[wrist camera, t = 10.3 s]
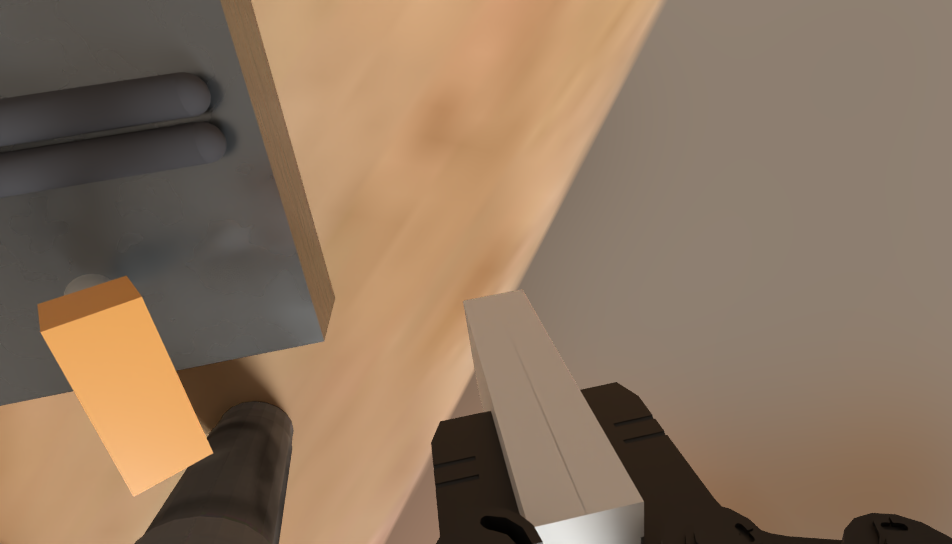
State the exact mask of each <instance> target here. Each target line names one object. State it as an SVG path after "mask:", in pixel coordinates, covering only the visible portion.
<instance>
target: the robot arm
mask: <svg viewBox="0 0 952 544" xmlns="http://www.w3.org/2000/svg"><path fill="white" fill-rule="evenodd" d="M463 303H464V309H465V315H466V321H467V327H468V333H469V339H470V345H471V351H472V357H473V363H474V369H475V374H476V381H477V386H478V392H479V396H480V399H481V403H482V408H483V411H484V412H483V413H478V414H473V415H469V416H464V417H459V418H455V419H450V420H445V421H441V422H440V423H439V426H438V428H437V430H436V433H435V435H434V437H433V440H432V442H431V445H432V456H433V465H434V476H435V485H436V498H437V508H438V519H439V530H440V538H439V540H438V541H437V543H436V544H952V538H950V537H949V536H947V535H945V534H943V533H941V532H939V531H937V530H935V529H933V528H931V527H930V526H928V525H926V524H924V523H922V522H918V521H915V520H912V519H908V518H905V517H902V516H899V515H895V514H879V513H870V514H867V515H864V516H860V517H857V518H854V519H853V520H852V521H851V523H850V524H849V525H848V526H847V527H846V528H845V530H844V534H843V538H842V540H831V539H817V538H802V537H789V536H783V535H777V534H771V533H768V532H765V531H762V530H760V529H759V528H758V527H757V526H756V525H755V524H754V523H753V522H752V521H751V520H749V519H748V518H746V517H744V516H742V515H740V514H739V513H737V512H735V511H733V510H731V509H729V508H725V507H722V506H721V505H720V504H719V503H718V502H717V501H716V500H715V499H714V498H713V496H712V495H711V494H710V492H709V491H708V490H707V488H706V487H705V485H704V484H703V483H702V481H701V480H700V479H699V477H698V476H697V475H696V473H695V472H694V471H693V469H692V468H691V467H690V465H689V464H688V463H687V461H686V460H685V459H684V457H683V456H682V454H681V453H680V452H679V450H678V449H677V448H676V446H675V445H674V444H673V442H672V441H671V440H670V438H669V437H668V435H665V433H664V430H663V429H662V428H661V426H660V425H659V423H658V422H657V421H656V419H653V417H652V414H651V413H650V411H649V410H648V408H647V407H646V406H645V404H644V403H643V402H642V400H641V399H640V398H639V396H637V395H636V394H634V393H633V392H631V391H630V390H628V389H626V388H625V387H623V386H622V385H620V384H618V383H617V382H615V383H610V384H606V385H601V386H597V387H592V388H587V389H583V390H580V389H579V388H578V386H577V384H576V382H575V380H574V379H573V377H572V375H571V373H570V372H569V370H568V368H567V366H566V365H565V363H564V361H563V359H562V358H561V356H560V354H559V352H558V351H557V349H556V347H555V346H554V344H553V342H552V340H551V339H550V337H549V335H548V333H547V332H546V330H545V328H544V326H543V325H542V323H541V321H540V319H539V318H538V316H537V314H536V312H535V311H534V309H533V307H532V305H531V304H530V302H529V300H528V298H527V297H526V295H525V293H524V291H523V290H517V291H511V292H506V293H501V294H496V295H491V296H486V297H481V298H475V299H470V300H465V301H463Z"/></svg>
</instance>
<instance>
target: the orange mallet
mask: <svg viewBox="0 0 952 544" xmlns="http://www.w3.org/2000/svg"><path fill="white" fill-rule="evenodd" d="M37 306H38V315H39V324H40V332H41V334H42V336H43V338H44V340H45V341H46V343H47V345H48V347H49V348H50V350H51V352H52V354H53V355H54V357H55V359H56V361H57V362H58V364H59V366H60V368H61V370H62V371H63V373H64V375H65V377H66V378H67V380H68V382H69V384H70V385H71V387H72V389H73V391H74V392H75V394H76V396H77V398H78V399H79V401H80V403H81V405H82V407H83V408H84V410H85V412H86V414H87V415H88V417H89V419H90V421H91V422H92V424H93V426H94V428H95V429H96V431H97V433H98V435H99V437H100V438H101V440H102V442H103V444H104V445H105V447H106V449H107V451H108V452H109V454H110V456H111V458H112V459H113V461H114V463H115V465H116V467H117V468H118V470H119V472H120V474H121V475H122V477H123V479H124V481H125V482H126V484H127V486H128V488H129V489H130V491H131V493H132V495H133V497H134V496H136V495H138V494H140V493H142V492H144V491H145V490H147V489H149V488H151V487H153V486H154V485H156V484H158V483H160V482H162V481H164V480H165V479H167V478H169V477H171V476H173V475H174V474H176V473H178V472H180V471H182V470H184V469H185V468H187V467H189V466H191V465H193V464H194V463H196V462H198V461H200V460H202V459H203V458H205V457H207V456H209V455H211V454H213V451H212V449H211V447H210V445H209V442H208V440H207V438H206V436H205V434H204V431H203V429H202V427H201V425H200V423H199V421H198V418H197V416H196V414H195V412H194V410H193V407H192V405H191V403H190V401H189V399H188V396H187V394H186V392H185V390H184V388H183V386H182V383H181V381H180V379H179V377H178V375H177V372H176V370H175V368H174V366H173V364H172V361H171V359H170V357H169V355H168V353H167V351H166V348H165V346H164V344H163V342H162V340H161V337H160V335H159V333H158V331H157V329H156V326H155V324H154V322H153V320H152V318H151V316H150V313H149V311H148V309H147V307H146V305H145V302H144V300H143V298H142V296H141V295H140V293H139V292H138V291H137V289H136V288H135V287H134V285H133V284H132V282H131V281H130V280H129V278H128V277H127V276H124V277H120V278H117V279H114V280H110V279H109V278H107V277H105V276H102V275H98V274H87V275H82V276H80V277H77V278H75V279H74V280H72V281H71V282H70V283H69V284H68V286H67V287H66V289H65V291H64V296H61V297H58V298H55V299H52V300H49V301H46V302H43V303H40V304H37Z"/></svg>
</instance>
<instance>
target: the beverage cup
mask: <svg viewBox="0 0 952 544" xmlns="http://www.w3.org/2000/svg"><path fill="white" fill-rule="evenodd" d="M292 436H293V426H292V422H291V420H290V419H289V417H288V416H287V414H286V413H285V412H283V411H282V410H281V409H279V408H278V407H276V406H273V405H271V404H268V403H264V402H256V401H254V402H245V403H241V404H239V405H236V406H234V407H232V408H231V409H229V410H228V411H227V412H226V413H224V415H223V417H222V418H221V420H220V421H219V423H218V424H217V425H216V427H215V428H213V430H212V431H211V433H210V434H209V436H208V437H207V440H208V442H209V445H210V447H211V449H212V451H213V454H211V455H209V456H207V457H205V458H203V459H202V460H200V461H198V462H196V463H194V464H193V465H191V466H189V467H188V468H187V469H186V471H185V472H184V474H183V476H182V477H181V479H180V480H179V482H178V483H177V485H176V486H175V488H174V489H173V491H172V492H171V494H170V495H169V497H168V498H167V500H166V502H165V503H164V505H163V506H162V508H161V509H160V511H159V512H158V514H157V515H156V517H155V518H154V520H153V521H152V523H151V525H150V526H149V528H148V529H147V531H146V532H145V534H144V535H143V536H142V537H141V538H140V539H139V540H137V541H136V542H135V544H279V538H280V531H281V524H282V517H283V510H284V503H285V496H286V489H287V482H288V474H289V467H290V460H291V453H292Z"/></svg>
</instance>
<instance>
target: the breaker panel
mask: <svg viewBox="0 0 952 544" xmlns="http://www.w3.org/2000/svg"><path fill="white" fill-rule="evenodd" d="M178 72H186V73H190V74H193V75H195V76H197V77H199V78H200V79H201V80H203V81H204V83H205V84H206V85H207V87H208V89H209V91H210V95H211V102H210V105H209V107H208V109H207V110H206V111H205V112H204V113H203V114H201V115H199V116H195V117H189V118H182V119H176V120H170V121H163V122H157V123H150V124H144V125H138V126H131V127H125V128H118V129H112V130H105V131H99V132H93V133H86V134H80V135H73V136H67V137H60V138H54V139H48V140H41V141H35V142H28V143H22V144H16V145H9V146H3V147H0V153H1V152H8V151H14V150H21V149H27V148H33V147H40V146H46V145H53V144H59V143H65V142H72V141H78V140H84V139H91V138H97V137H104V136H110V135H116V134H123V133H129V132H135V131H142V130H148V129H155V128H161V127H167V126H174V125H180V124H187V123H193V122H207V123H210V124H212V125H214V126H216V127H217V128H218V129H220V131H221V132H222V133H223V134H224V136H225V139H226V144H227V146H226V151H225V153H224V155H223V156H222V158H220V159H219V160H218V161H216V162H213V163H209V164H203V165H197V166H191V167H185V168H179V169H172V170H166V171H160V172H154V173H148V174H142V175H136V176H130V177H124V178H118V179H112V180H106V181H99V182H93V183H87V184H81V185H75V186H69V187H63V188H57V189H51V190H45V191H39V192H32V193H26V194H20V195H14V196H8V197H2V198H0V406H1V405H6V404H11V403H16V402H21V401H26V400H31V399H36V398H41V397H46V396H51V395H56V394H61V393H66V392H71V391H73V389H72V387H71V385H70V384H69V382H68V380H67V378H66V377H65V375H64V373H63V371H62V370H61V368H60V366H59V364H58V362H57V361H56V359H55V357H54V355H53V354H52V352H51V350H50V348H49V347H48V345H47V343H46V341H45V340H44V338H43V336H42V334H41V332H40V324H39V315H38V306H37V304H40V303H43V302H46V301H49V300H52V299H55V298H58V297H61V296H64V291H65V289H66V287H67V286H68V284H69V283H70V282H71V281H72V280H74V279H75V278H77V277H80V276H82V275H87V274H98V275H102V276H105V277H107V278H109V279H110V280H114V279H117V278H120V277H124V276H127V277H128V278H129V280H130V281H131V282H132V284H133V285H134V287H135V288H136V289H137V291H138V292H139V293H140V295H141V296H142V298H143V300H144V302H145V305H146V307H147V309H148V311H149V313H150V316H151V318H152V320H153V322H154V324H155V326H156V329H157V331H158V333H159V335H160V337H161V340H162V342H163V344H164V346H165V348H166V351H167V353H168V355H169V357H170V359H171V361H172V364H173V366H174V368H175V370H176V371H177V370H182V369H187V368H192V367H197V366H202V365H207V364H212V363H217V362H222V361H227V360H232V359H237V358H242V357H247V356H252V355H257V354H262V353H267V352H272V351H277V350H282V349H287V348H293V347H298V346H303V345H308V344H313V343H318V342H323V341H324V340H325V336H326V332H327V328H328V324H329V320H330V316H331V312H332V308H333V304H334V300H335V296H334V293H333V289H332V286H331V282H330V279H329V275H328V272H327V268H326V265H325V261H324V258H323V254H322V250H321V247H320V243H319V240H318V236H317V233H316V229H315V226H314V222H313V219H312V215H311V212H310V208H309V205H308V201H307V198H306V194H305V191H304V187H303V183H302V180H301V176H300V173H299V169H298V166H297V162H296V159H295V155H294V152H293V148H292V145H291V141H290V138H289V134H288V131H287V127H286V124H285V120H284V116H283V113H282V109H281V106H280V102H279V99H278V95H277V92H276V88H275V85H274V81H273V78H272V74H271V71H270V67H269V64H268V60H267V57H266V53H265V49H264V46H263V42H262V39H261V35H260V32H259V28H258V25H257V21H256V18H255V14H254V11H253V7H252V4H251V0H0V99H2V98H9V97H15V96H22V95H29V94H36V93H42V92H49V91H56V90H63V89H69V88H76V87H83V86H90V85H97V84H103V83H110V82H117V81H124V80H130V79H137V78H144V77H151V76H157V75H164V74H171V73H178Z"/></svg>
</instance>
